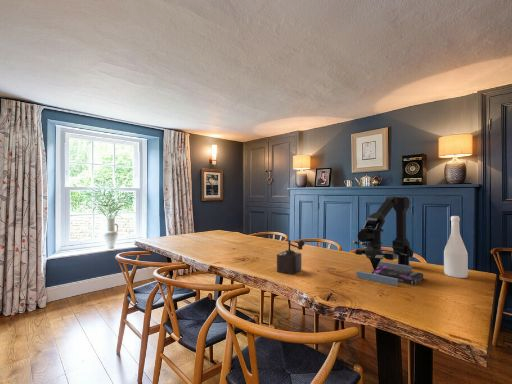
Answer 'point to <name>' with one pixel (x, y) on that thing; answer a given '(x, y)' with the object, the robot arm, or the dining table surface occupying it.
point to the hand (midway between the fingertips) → (374, 270)
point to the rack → (383, 278)
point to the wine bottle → (455, 253)
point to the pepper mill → (290, 260)
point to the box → (399, 274)
